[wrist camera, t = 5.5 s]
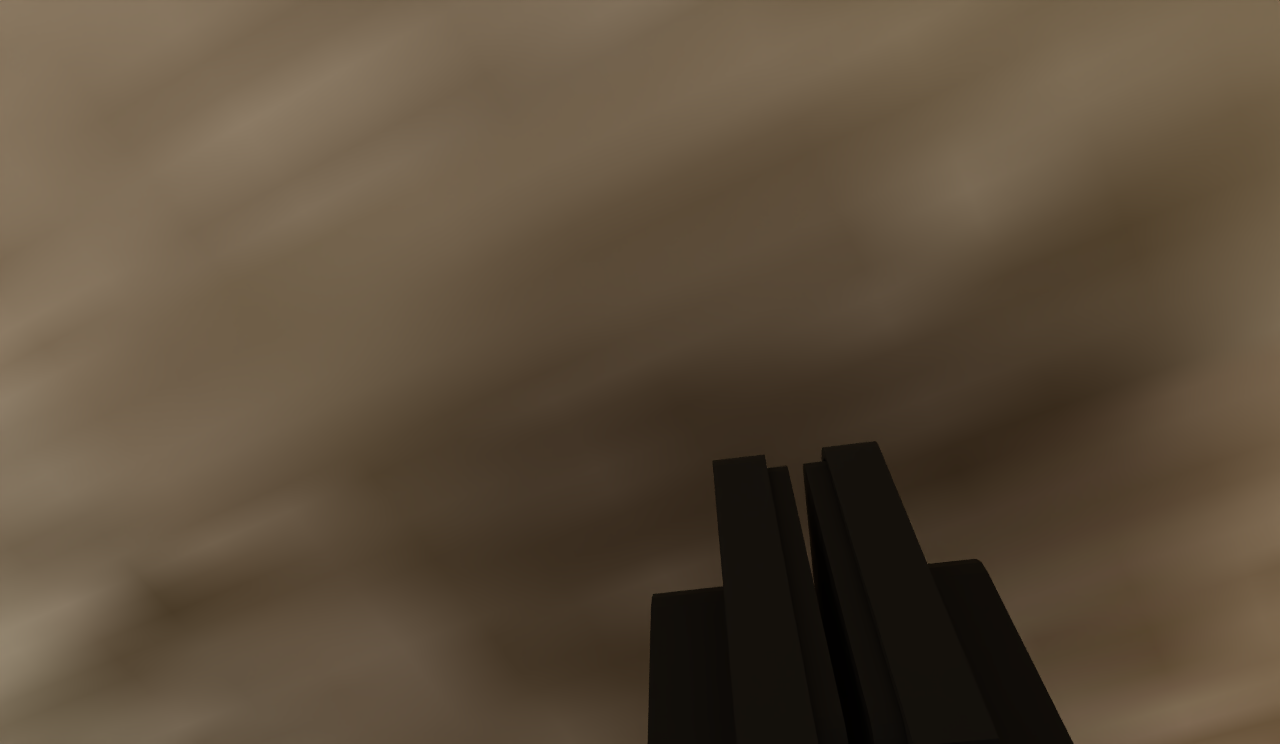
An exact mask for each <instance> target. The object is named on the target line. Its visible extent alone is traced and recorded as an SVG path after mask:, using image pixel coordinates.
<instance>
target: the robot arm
mask: <svg viewBox="0 0 1280 744" xmlns="http://www.w3.org/2000/svg"><path fill="white" fill-rule="evenodd" d="M713 472H714V484H715V495H716V507H717V519H718V531H719V542H720V554H721V566H722V577H723V587H714V588H705V589H696V590H686V591H677V592H668V593H659V594H653V596H652V603H651V631H650V672H649V713H648V744H1073V742H1072V740H1071V738H1070V736H1069V734H1068V732H1067V730H1066V728H1065V726H1064V724H1063V722H1062V720H1061V718H1060V716H1059V714H1058V712H1057V710H1056V708H1055V706H1054V704H1053V702H1052V700H1051V698H1050V696H1049V694H1048V692H1047V690H1046V688H1045V686H1044V684H1043V682H1042V680H1041V678H1040V676H1039V674H1038V672H1037V670H1036V668H1035V666H1034V664H1033V662H1032V660H1031V658H1030V656H1029V654H1028V652H1027V650H1026V648H1025V646H1024V644H1023V642H1022V640H1021V638H1020V636H1019V634H1018V632H1017V630H1016V628H1015V626H1014V624H1013V622H1012V620H1011V618H1010V616H1009V614H1008V612H1007V610H1006V608H1005V606H1004V604H1003V602H1002V600H1001V598H1000V596H999V594H998V592H997V590H996V588H995V586H994V584H993V582H992V580H991V578H990V576H989V574H988V572H987V570H986V569H985V567H984V566H983V564H982V562H980V561H979V560H977V559H971V560H961V561H952V562H943V563H934V564H927V562H926V560H925V557H924V555H923V552H922V550H921V547H920V545H919V543H918V540H917V538H916V535H915V533H914V530H913V528H912V526H911V523H910V521H909V518H908V516H907V513H906V511H905V509H904V506H903V504H902V501H901V499H900V496H899V494H898V492H897V489H896V487H895V484H894V482H893V479H892V477H891V475H890V472H889V470H888V467H887V465H886V462H885V460H884V458H883V455H882V453H881V450H880V448H879V446H878V444H877V442H875V441H873V442H865V443H856V444H848V445H840V446H831V447H823V448H822V462H815V463H806V464H803V473H804V484H805V494H806V504H807V515H808V525H809V535H810V546H811V556H812V566H813V577H814V583H813V579H812V574H811V570H810V565H809V561H808V556H807V552H806V548H805V543H804V539H803V534H802V530H801V525H800V521H799V516H798V512H797V507H796V503H795V498H794V494H793V490H792V485H791V481H790V476H789V472H788V468H787V466H781V467H773V468H767V465H766V460H765V455H757V456H748V457H740V458H732V459H724V460H715V461H713ZM814 587H815V588H814Z"/></svg>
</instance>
